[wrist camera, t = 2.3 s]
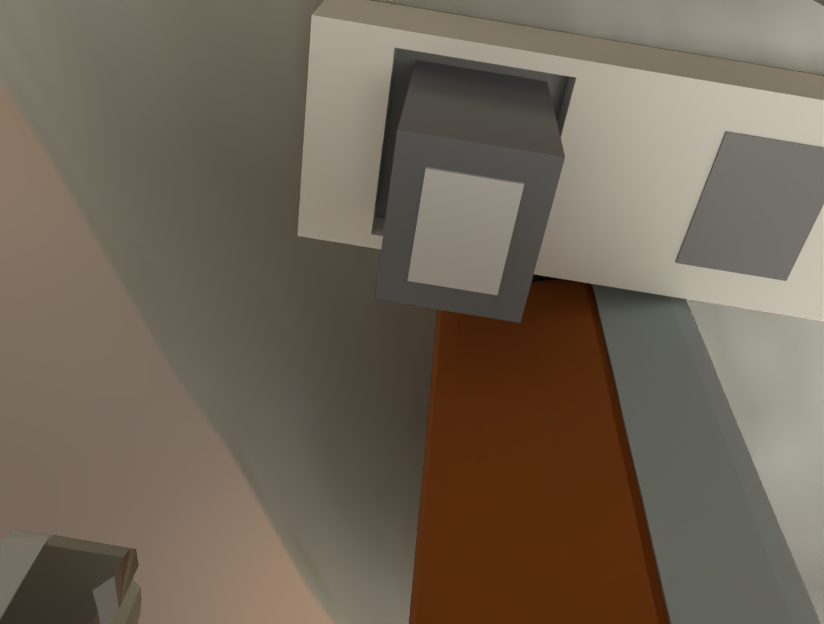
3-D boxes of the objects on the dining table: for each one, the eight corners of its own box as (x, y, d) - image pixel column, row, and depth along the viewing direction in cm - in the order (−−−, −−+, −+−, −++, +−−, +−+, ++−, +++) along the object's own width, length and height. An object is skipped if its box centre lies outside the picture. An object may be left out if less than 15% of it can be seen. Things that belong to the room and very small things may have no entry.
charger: (513, 222, 26) (520, 324, 20) (395, 203, 26) (374, 301, 20) (547, 81, 23) (565, 158, 18) (415, 59, 23) (397, 131, 18)
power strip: (1070, 320, 28) (1141, 382, 25) (314, 197, 28) (293, 244, 25) (1207, 139, 24) (1311, 186, 21) (329, -7, 24) (307, 20, 21)
